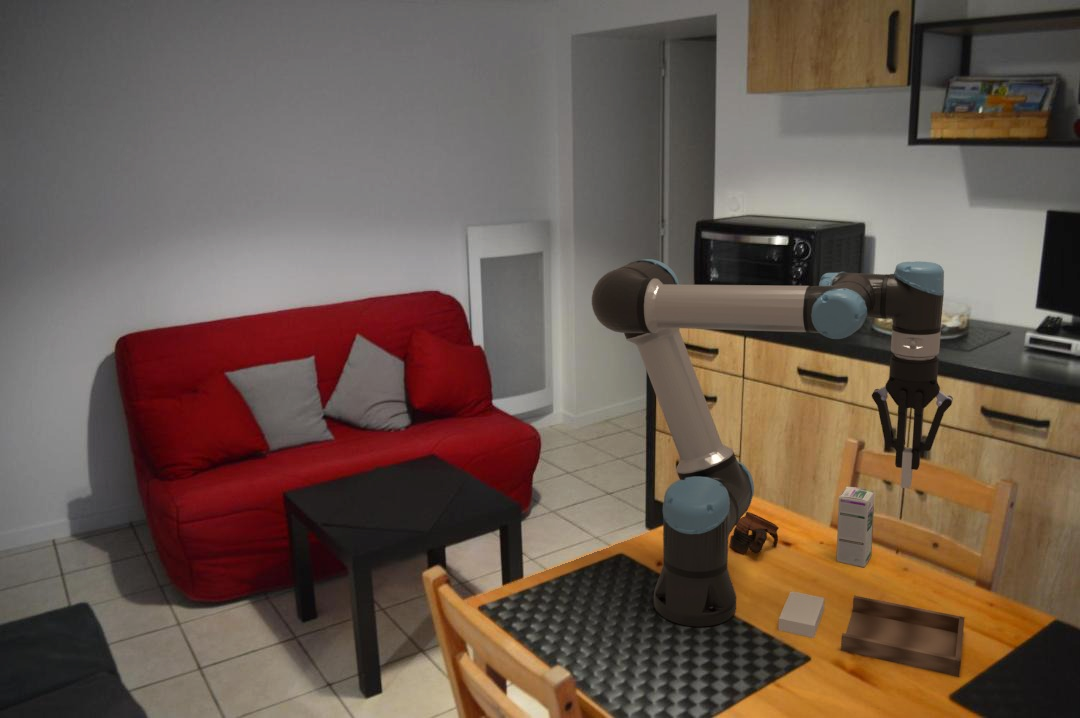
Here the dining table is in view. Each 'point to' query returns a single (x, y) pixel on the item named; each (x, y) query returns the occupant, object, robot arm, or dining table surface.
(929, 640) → the walnut box
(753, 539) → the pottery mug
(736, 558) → the dining table surface
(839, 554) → the syrup box
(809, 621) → the light grey block
